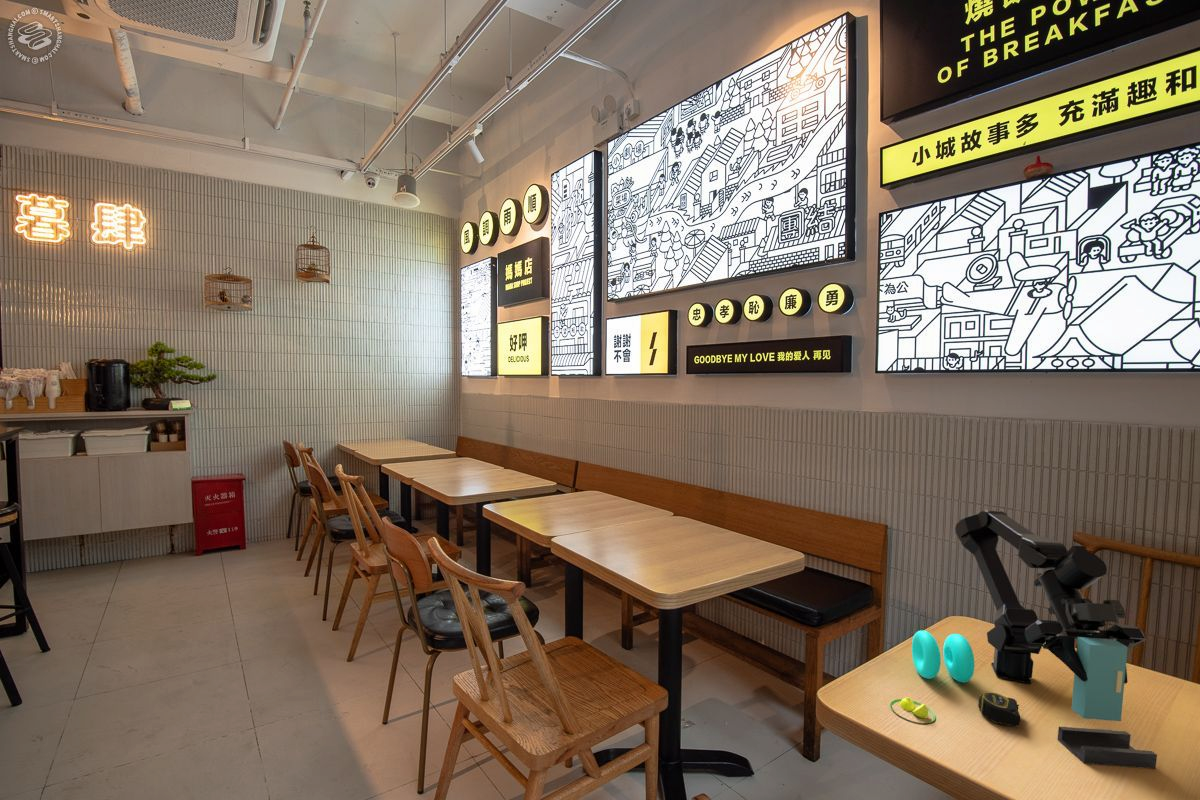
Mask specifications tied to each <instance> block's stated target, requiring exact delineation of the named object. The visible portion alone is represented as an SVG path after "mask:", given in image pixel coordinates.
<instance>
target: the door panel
mask: <svg viewBox="0 0 1200 800" xmlns="http://www.w3.org/2000/svg"><path fill="white" fill-rule="evenodd" d="M1075 650H1076V652H1077V654H1078V657H1079V659H1080V661H1081V663H1082V665H1083V667H1084V670H1085V672H1086V675H1087V678H1088V680H1087V681H1082V680H1081V679H1080V678H1079V677H1078V676H1077V675H1076V674H1075V673H1073V674H1074V676H1073V688H1072V701H1071V710H1072V711H1073V712H1074V713H1076V714H1077V715H1078V716H1079V717H1081V718H1082V719H1085V720H1099V721H1100V720H1101V721H1113V722H1121V721H1122V713H1123V702H1124V691H1125V684H1124V680H1125V671H1126V669H1127V660H1128V659H1127V658H1128V657H1127V656H1128V650H1129V649H1128V647H1127V646H1125V645H1123V644H1121V643H1120V642H1118V641H1116V640H1114V639H1100V638H1085V637H1078V639H1076V649H1075Z"/></svg>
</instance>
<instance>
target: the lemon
mask: <svg viewBox="0 0 1200 800" xmlns="http://www.w3.org/2000/svg"><path fill="white" fill-rule="evenodd" d="M899 701H900V702H899ZM896 703H899V707H900V708H901V709H902V708H903V710H904V711H907V712H912V713H913V714H914V715H915V716H917V718H922V719H923V718H924V719H928V718H929V716H928V713H930V714H931V715H932V720H931V721H929V722H928V724H930V723H933V722H934V721H935V720H936V714H935V713H934V712H933V711H932V710H931V709H930V708H929V707H928V706H927V705H926V704H925V703H922V704H921V703H920V702H917V701H914V700H912V699H911V698H910V697H909V696H907V697H904V698H901V699H900V698H899V699H894V700H892V701H891V702H890V708H891V710H892V711H893V712H894V713H895V715H898V713H897V712H896V711H895V709H894V708H893V709H892V705H893V706H894V705H895V704H896ZM916 705H918V706H917V707H916ZM916 723H919V722H916Z"/></svg>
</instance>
